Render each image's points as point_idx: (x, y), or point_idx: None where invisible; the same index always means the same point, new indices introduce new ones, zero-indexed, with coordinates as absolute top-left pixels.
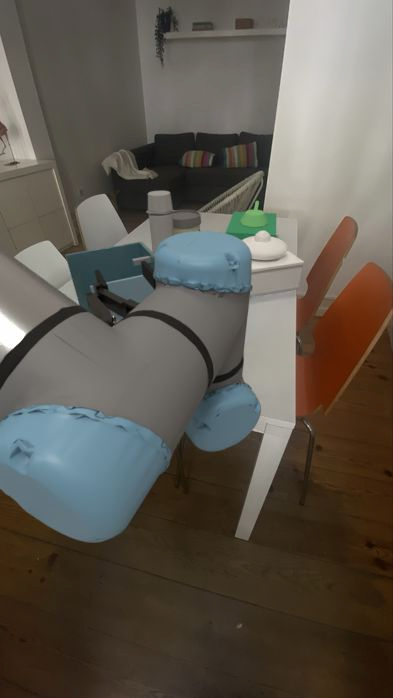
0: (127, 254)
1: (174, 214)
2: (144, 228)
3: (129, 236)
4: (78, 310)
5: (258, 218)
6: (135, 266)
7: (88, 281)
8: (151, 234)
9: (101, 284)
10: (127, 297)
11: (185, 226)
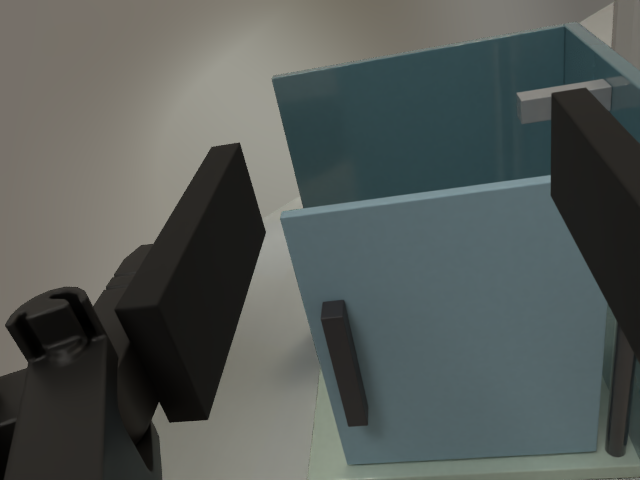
0: (505, 77)
1: None
2: (588, 23)
3: None
4: None
5: None
6: (533, 126)
7: (347, 174)
8: (616, 16)
9: (82, 302)
10: (457, 278)
11: None
